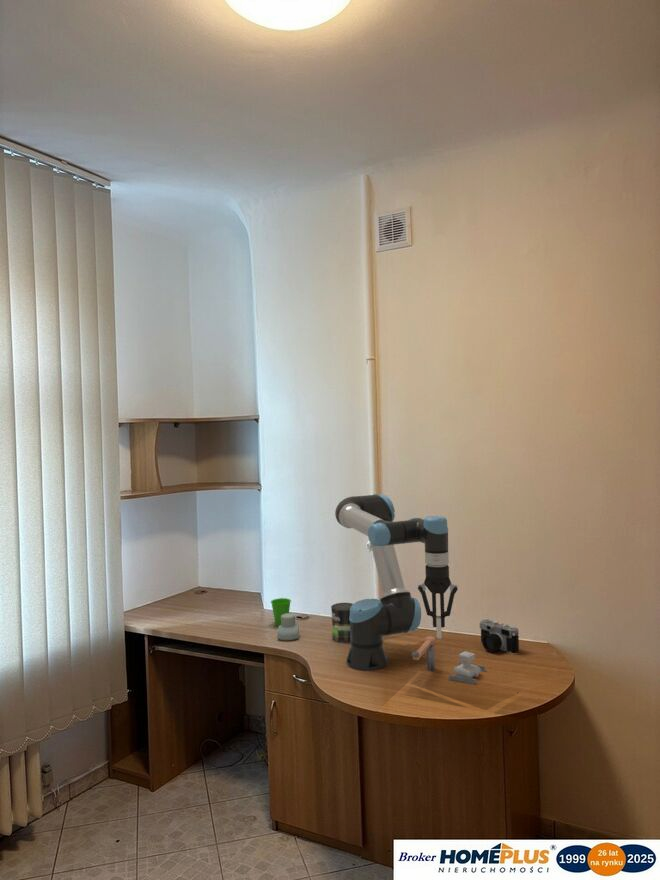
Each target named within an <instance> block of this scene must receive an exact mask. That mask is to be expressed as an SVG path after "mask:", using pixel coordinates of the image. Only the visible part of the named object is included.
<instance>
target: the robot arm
mask: <svg viewBox="0 0 660 880" xmlns="http://www.w3.org/2000/svg"><path fill="white" fill-rule="evenodd" d="M395 512H396V509H395V506H394V503H393V501H392V500H391V499H390V497H389V496H387V495H386V494H377V493H374V494H371V495H370V494H369V495H358V496H355V495H354V496H348V497H346V498H344V499H342V500H341V501H339V502H338V504H337V505H336V508H335V511H334V515H335V519H336V521H337V522H338V524H339V525H341V526H342V527H344V528H346V529H354V530H355V531H357V532H359V533H361V534H363V535H364V536H367V537H368V541H369V542H370V547H371V551H372V554H373V558H374V563H375V567H376V572H377V575H378V580H379V583H380V587H381V591H382V595H381V597H380V599H378V598H364V599H361V600H357V601H355V602H354V603H352V604H353V605H352V606H351V608H350V617H349V620H350V640H351V642H350V647H349V650H348V654H347V657H346V661H345V662H346V665H347V667H348V668H350V669H352V670H356V671H361V672H362V671H363V672H364V671H365V672H366V671H367V672H370V671H371V672H372V671H377V670H381V669H384V668H386V667H387V666H388V665H389V658H388V656H387V654H386V650H385V648H384V643H383V637H385V636H392V635H397V634H403V633H405V634H406V633H408V632H413V631H416V630H417V629H418V627H420V624H421V621H422V608H421V604H420V602H419V600H418V599H417V598H415V597H412V594H411V592H410V590H408V589H406V587H405V584H404V580H403V576H402V575H403V574H402V572H401V568H400V564H399V561H398V556H397V553H396V549H395V546H394V545H400V544H401V545H402V544H410V543H411V544H412V543H423V544H424V563H425V564H426V565H425V566H424V567H425V571H424V572H425V579H424V582H423V583H421V584H419V585H418V586H417V589H418V591H419V593H420V594H421V599H422V601H423V605H424V608H425V612H426V615H427V616H429V617H431V618H432V627H433V628H436V638H437V639H442V635H443V634H442V628H445V627H446V626H445V625H446V622H445V618H446V617H450V615H451V613H452V607H453V604H454V598H455V594H456V593H457V592H458V585H456V584H453V583H452V581H451V578H450V566H449V564H450V560H449V558H450V557H449V555H450V554H449V528H448V520H447V518H446V517H445V516H442V515H441V516H439V515H432V516H431V515H430V516H427V517H425V518H424V519H423V518H421V517H411V518H410V519H407V520H399V521H398V520H397V521H394V520H395V518H396V514H395ZM426 589H427V590H428V591H429V592H430V593H431V604H432V607H430V604H429V601H428V597H427V593H426ZM448 589H449V591H450V593H449V598H448V603H447V607H446V611H445V597H444V596H445V595H444V594H445V593H446V592H447V590H448ZM437 594H439V597H440V598H439V600H440V601H439V603H440V604H439V605H440V606H439V607H440V615H437ZM431 608H432V610H431Z"/></svg>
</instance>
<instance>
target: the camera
mask: <svg viewBox="0 0 660 880" xmlns="http://www.w3.org/2000/svg"><path fill="white" fill-rule="evenodd" d="M479 629H480V644H481V643H482V644H481V645H482V646H483V648H484V649H485V651H487V652H489V653H490V652H495V651H497V650H498V649H500V651H502V652H505V651H508V652H511V653H517V652H519V653H520V645H519V644H520V639H519V637H520V636H519V629H518V628H517V626H514V625H509V624H504V622H502V623H499V621H498V620H493V619H489V618H488V617H482V619H481V620H480V622H479ZM508 652H507V653H508ZM511 653H510V654H511ZM517 654H518V653H517Z"/></svg>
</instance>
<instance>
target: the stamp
mask: <svg viewBox="0 0 660 880" xmlns="http://www.w3.org/2000/svg"><path fill="white" fill-rule="evenodd" d="M457 655H458V656H457V657H458V659H459V661H460V662H463V664H461V665H459V664H458V665H457V666H454V668H453V672H454V674H455V675H456V676H461V677H467V678H473V679H474V678H475V677H476V678H478V677H479V675H480V673H481V672H482V671H481V669H480V667H478V666H475V665H476V664H475V665H472V664H473V663H472V661H474V660H475V658H476V654H475V653H473V652H469V651H466V650H465V651H463V652H461V653H459V654H457Z"/></svg>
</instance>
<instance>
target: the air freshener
mask: <svg viewBox="0 0 660 880" xmlns="http://www.w3.org/2000/svg"><path fill="white" fill-rule="evenodd" d="M299 628H300V626H299V625H298V624H297V623H296V614H294V613H290V612H289V613H286V614H283V615H281V625H280V626H279V627H278V626H277V638H278V640H280V641H284V640H285V641H286V642H289V641H290V640H291V641H295V640H297V639H299V637H300V629H299Z"/></svg>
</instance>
